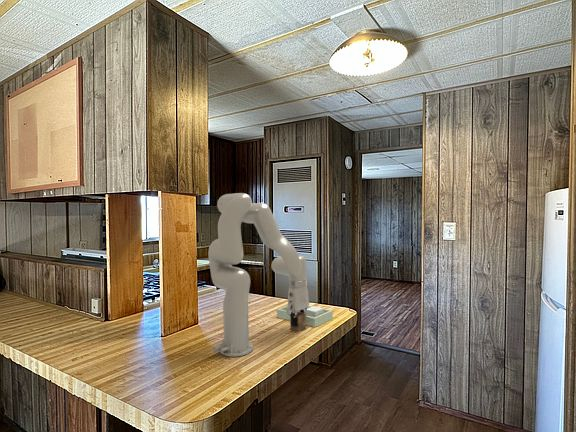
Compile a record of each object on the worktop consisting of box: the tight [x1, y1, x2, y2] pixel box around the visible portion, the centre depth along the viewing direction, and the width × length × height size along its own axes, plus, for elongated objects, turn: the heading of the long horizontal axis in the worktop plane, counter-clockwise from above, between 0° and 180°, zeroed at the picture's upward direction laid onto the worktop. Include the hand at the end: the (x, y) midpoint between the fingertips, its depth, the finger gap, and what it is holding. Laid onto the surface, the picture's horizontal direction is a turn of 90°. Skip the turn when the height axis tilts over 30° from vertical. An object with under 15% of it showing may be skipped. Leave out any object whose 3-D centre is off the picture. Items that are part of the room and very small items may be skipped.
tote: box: [276, 305, 334, 328], centre depth 164 cm, size 15×23×4 cm, turn 50°
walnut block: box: [289, 311, 307, 333], centre depth 149 cm, size 5×5×7 cm
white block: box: [306, 305, 325, 317], centre depth 159 cm, size 7×6×6 cm
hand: (298, 323), depth 149 cm, fingers closed on walnut block, 5 cm apart
